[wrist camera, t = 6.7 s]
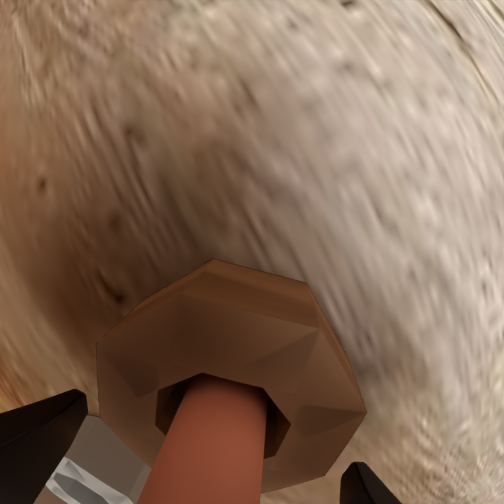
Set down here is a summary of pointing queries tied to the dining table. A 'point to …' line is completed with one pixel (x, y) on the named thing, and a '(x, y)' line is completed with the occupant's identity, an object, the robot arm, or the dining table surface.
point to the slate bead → (99, 468)
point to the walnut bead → (233, 366)
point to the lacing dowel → (212, 446)
